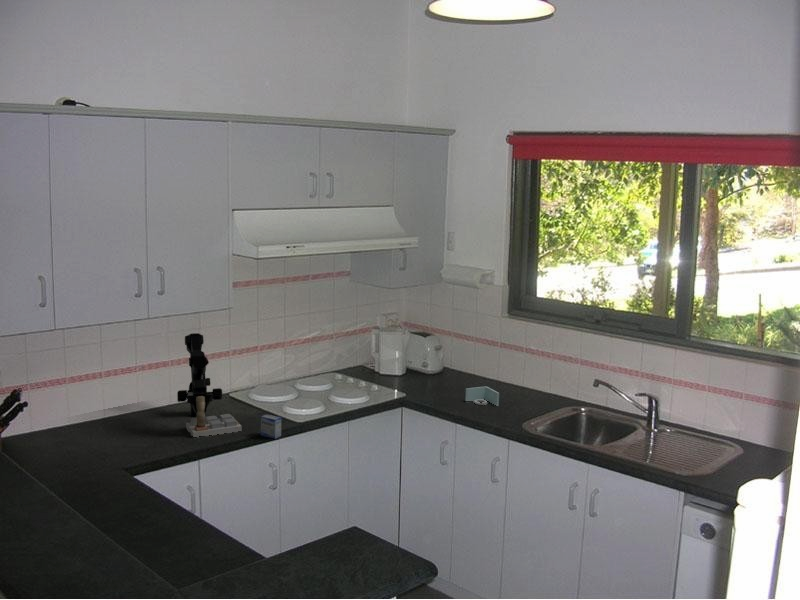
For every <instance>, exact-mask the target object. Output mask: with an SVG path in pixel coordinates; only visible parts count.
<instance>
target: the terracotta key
mask: <svg viewBox="0 0 800 600" xmlns="http://www.w3.org/2000/svg"><path fill="white" fill-rule="evenodd" d="M194 427H195V430H196V432H197V431H204V430H207V426H206V425H205V427H202V428H198V427H197V425H194Z"/></svg>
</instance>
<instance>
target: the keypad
mask: <svg viewBox="0 0 800 600" xmlns="http://www.w3.org/2000/svg"><path fill="white" fill-rule="evenodd" d="M194 425H197V417H192V418H190V422H186V423H185V429H186V430H187V431H188V433H189V432H190V433H191V434H190V433H189V434H190V436H191V437H192V436H193V437H197V438H200V437H199V436H205V437H210V436H209V435H212V436H218V435H217V434H219V435H225V434H224V433H227V434H232V432H234V433H239V432H238V431H241V432H242V428H243V426H242V424H240V422H239V421H237V420H236V418H234V416H233V415H232V414H231V413H225V414H220V415H219V418H218V417H217V416H216V415H209V416H205V425H206V426H207V430H204V431H197V432H196V430H195V427H194ZM193 437H192V438H193Z"/></svg>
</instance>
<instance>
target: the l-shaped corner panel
mask: <svg viewBox="0 0 800 600" xmlns="http://www.w3.org/2000/svg"><path fill="white" fill-rule="evenodd" d="M464 397H465V398H464V399H465V401H473V404H474V403H475V404H478V405H483V406H484V405H485V406H487V405H488V403H489V402H490V403H489V404H491V403H492V404H491V405H493V404H494V405H493V406H495V405H496V406H498V407H499V402H500V392H498V391H496V390H494V389H493V388H491V387H489V386H478V387H469V388H467V387H466V388H465V396H464ZM484 399H485V400H484ZM486 400H487V401H489V402H487V401H486ZM465 401H464V402H465ZM480 402H482V403H480ZM475 404H474V405H475ZM478 405H477V406H478ZM496 406H495V407H496Z"/></svg>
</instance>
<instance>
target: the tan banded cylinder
mask: <svg viewBox="0 0 800 600" xmlns="http://www.w3.org/2000/svg"><path fill="white" fill-rule="evenodd" d="M196 408H197V413H196V414H197V416H196V418H197V427H198V428H202V427H205V417H206V415H205V414H206V413H205V397H204V396H198V397H196Z"/></svg>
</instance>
